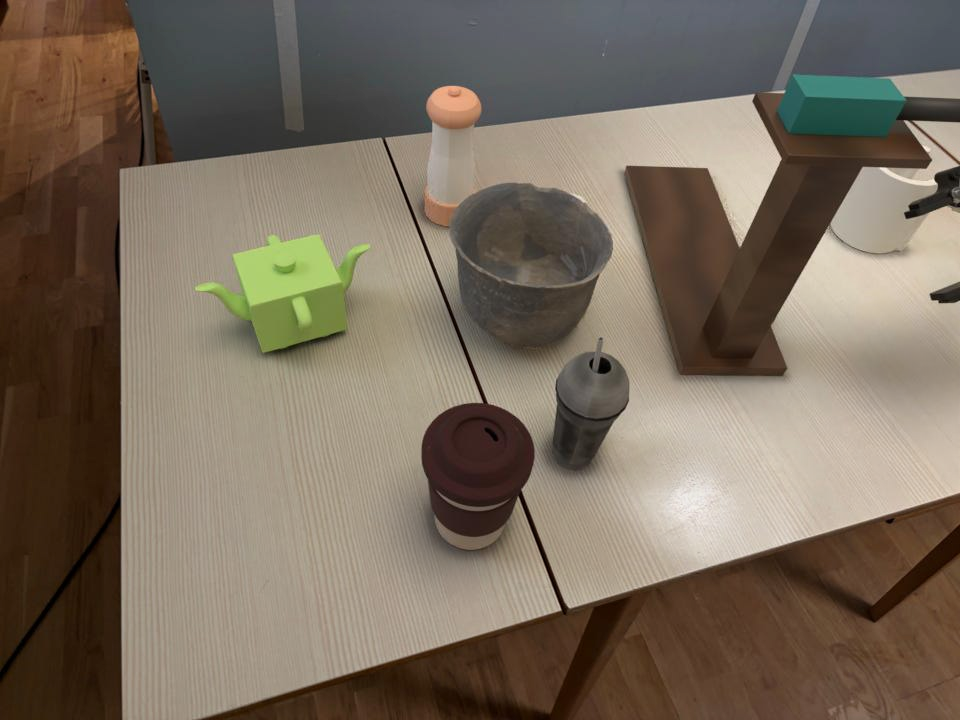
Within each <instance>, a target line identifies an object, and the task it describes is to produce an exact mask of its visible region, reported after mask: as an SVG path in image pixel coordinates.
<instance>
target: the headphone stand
mask: <svg viewBox="0 0 960 720" xmlns="http://www.w3.org/2000/svg"><path fill="white" fill-rule="evenodd" d="M784 93H785V92H784ZM784 93H783V92H758V91H756V92H755V93H754V94H753V95H754V96H753V98H752V101H751V102H752V104H753V106H754V108H755V110H756V112H757V113H758V116H759V118H760V121H761V122H762V123H763V126H764V127H765V130H766V131H767V133H768V135H769V136H770V139H771V141H772V143H773V145H774V147H775V149H776V151H777V153H778V154H779V157H780V158H781V160H780V161H779V164H778V165H777V167H776V170H775V172H774V175H773V176H772V179H771V181H770V182H769V185H768V187H767V189H766V191H765V194H764V196H763V198H762V200H761V202H760V204H759V206H758V208H757V211H756V213H755V215H754V217H753V219H752V222H751V223H750V226H749V228H748V230H747V232H746V234H745V236H744V239H743V241H742V243H741V245H739V243H738V240H737V238H736V236H735V232H734V231H733V228H732V226H731V223H730V220H729V218H728V215H727V212H726V211H725V208H724V205H723V202H722V200H721V198H720V195H719V193H718V190H717V189H716V186H715V183H714V181H713V178H712V176H711V173H710V170H709V168H708V167H685V166H654V165H626V166H625V169H624V172H623V173H624V174H623V175H624V178H625V181H626V185H627V188H628V191H629V196H630V199H631V202H632V203H631V204H632V206H633V209H634V213H635V214H634V215H635V217H636V222H637V225H638V229H639V231H640V236H641V239H642V243H643V246H644V250H645V253H646V256H647V260H648V264H649V268H650V271H651V276H652V279H653V283H654V286H655V289H656V293H657V297H658V301H659V304H660V308H661V311H662V314H663V315H662V316H663V319H664V322H665V326H666V330H667V333H668V337H669V340H670V345H671V347H672V351H673V355H674V359H675V361H676V365H677V369H678V374H679V375H680V376H762V377H763V376H767V377H768V376H769V377H771V376H773V377H775V376H777V377H779V376H780V377H782V376H784V375H785V373H786V372H787V370H788V366H787V363H786V361H785V358H784V356H783V353H782V351H781V348H780V346H779V344H778V340H777V338H776V336H775V333H774V330H773V328H772V325H773V323H774V321H775V320H776V319H777V316H778V315H779V313H780V312H781V310H782V308H783V306H784V304H785V303H786V301H787V300H788V297H789V296H790V294H791V292H792V290H793V289H794V287H795V285H796V283H797V282H798V280H799V279H800V277H801V275H802V273H803V272H804V270H805V267H806V266H807V264H808V263H809V261H810V259H811V258H812V256H813V254H814V252H815V251H816V249H817V247H818V245H819V244H820V242H821V240H822V238H823V237H824V235H825V233H826V232H827V230H828V229H829V226H831V225H830V223H831V221H832V219H833V218H834V216H835V214H836V213H837V211H838V209H839V207H840V206H841V204H842V202H843V200H844V199H845V197H846V195H847V193H848V192H849V190H850V188H851V187H852V185H853V183H854V181H855V180H856V178H857V176H858V174H859V173H860V171H861V169H862V167H881V168H912V169H919V170H927V169H928V168H929V166H930V165H931V163H932V161H933V158H932V156H931V155H930V153H929V154H928V153H927V152H926V150H925V149H924V148H923V146H924V145H923V144H922V143H921V142H920V141H919V140H918V138H917V137H916V135H915V134H914V132H913V131H912V130H911V128H910V127H909V126H908V124H907V123H906V121H905V120H895V122H894V123H893V125H892V127H891V129H890V130H889V132H888V134H887V135H886V137H871V136H843V135H815V134H789V133H788V131H787V129H786V127H785V126H784V124H783V122H782V120H781V118H780V116H779V115H778V113H777V109H778V107H779V104H780V102H781V100H782V98H783V95H784ZM922 145H923V146H922Z"/></svg>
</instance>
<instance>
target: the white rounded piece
mask: <svg viewBox="0 0 960 720" xmlns="http://www.w3.org/2000/svg"><path fill="white" fill-rule="evenodd" d="M921 145H922V146H923V148H924V149H925V150H926V152H927V153H928V154H929V155H930V154H931V152H932V149H931V148H930V147H928V146H926V145H923V144H921ZM919 170H920V169H912V168H881V167H862V169H861V171H860V173H859V174H858V176H857V178H856V180H855V181H854V183H853V185H852V187H851V188H850V190H849V192H848V193H847V195H846V197H845V199H844V200H843V202H842V204H841V206H840V207H839V209H838V211H837V213H836V214H835V216H834V218H833V219H832V221H831V223H830V225H829V226H830V229H831V230H832V231H833V233H834V234H835V236H836V237H837V238H839V239H840V240H841V241H842V242H844V244H846V245H848V246H850V247H852V248H854V249H857V250H859V251H862V252H866V253H870V254H888V253H892V252H893V251H897V252H902V251H904V249H905V248H906V246H908V243H909V242H910V241H911V239H912V238H913V237H914V235H915V234H916V233H917V231H918V229H920V227H921V225H922V224H923V223H924V221H925V220H926V218H927V217H928V216H929V214H930V213H927V214H924V215H922V216H918V217H914V218H910V219H906V218H905V215H904V212H906V211H909V207H908V205H909V204H910V203H912V202H914V201H916V200H919V199H921V198H924V197H927V196H929V195H932V194H934V193H935V192H936V191H937V188H938V184H937V183H936V182H935V180H934V178H932V179H929V180H917V179H914V178H915V177H916V175H917V173H918V172H919Z"/></svg>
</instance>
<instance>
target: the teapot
mask: <svg viewBox="0 0 960 720" xmlns="http://www.w3.org/2000/svg"><path fill="white" fill-rule="evenodd" d="M371 247H372V246H371V244H369V243H363V244H359V245H356V246H354V247H352V248H351V249H350V250H349V251H348V252H347V253H346V255H345V256H344V259H343V260H342V263H341V264H340V266H339V267H337V268H336V267H335V264H334V262H333V260H332V257H331V256H330V253H329V252H328V249H327V247H326V245H325V243H324V241H323V238H322V236H321V234H320V233H317V234H313V235H308V236H304V237H299V238H295V239H291V240H286V241H282V240H281V238H280V236H278V235H277V234H271V235H268V236H267V238H266V246H261V247H257V248H253V249H249V250H245V251H241V252H237V253H233V254H232V260H233V263H234V268H235V271H236V275H237V278H238V281H239V285H240V289H241V292H242V294H235V293H232V292H231V291H230V290H229V289H228V288H227V287H226V286H224V285H223V284H222V283H217V282H205V283H200V284H198V285H196V286H195V287H194V290H195V291H197V292H201V293H207V294H211V295H213V296H215V297H217V298H218V299H219V300H220V301H221V302H222V304H223V305H224V306H225V307H226V309H227V310H228V311H229V312H230V313H231V314H232V315H233V316H235V317H236V318H239V319H241V320H245V321H251V323H252V327H253V329H254V333H255V335H256V338H257V341H258V344H259V347H260V351H261V353H262V354H265V353H269V352H272V351H275V350H283V349H286V348H289V346H293V345H296V344H300V343H304V342H307V341H311V340H314V339H319V338H325V337H328V336H330V335H332V334H336V333H339V332H343V331H346V330H349V326H348V319H347V309H346V302H345V294H346V292H347V291H348V290H349V288H350V287H351V284H352V282H353V278H354V272H355V268H356V265H357V262H358V260H359V258H360V257H361V256H362V255H363V254H364V253H366V252H367V251H369V250H370V249H371Z"/></svg>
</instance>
